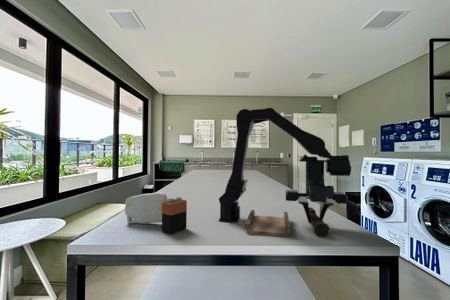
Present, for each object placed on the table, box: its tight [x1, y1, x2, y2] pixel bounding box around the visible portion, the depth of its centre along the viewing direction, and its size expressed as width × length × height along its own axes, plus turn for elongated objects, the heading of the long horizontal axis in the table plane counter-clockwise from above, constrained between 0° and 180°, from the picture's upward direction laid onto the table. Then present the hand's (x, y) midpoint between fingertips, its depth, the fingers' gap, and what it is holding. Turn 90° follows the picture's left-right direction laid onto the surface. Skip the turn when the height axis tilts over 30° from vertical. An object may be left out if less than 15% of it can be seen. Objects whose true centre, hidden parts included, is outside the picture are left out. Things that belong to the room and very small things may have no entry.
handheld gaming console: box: [124, 192, 168, 225], centre depth 77 cm, size 11×3×15 cm
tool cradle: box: [244, 209, 291, 238], centre depth 75 cm, size 13×17×3 cm
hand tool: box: [309, 207, 330, 237], centre depth 75 cm, size 19×4×5 cm, turn 168°
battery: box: [161, 196, 188, 235], centre depth 71 cm, size 4×7×10 cm, turn 145°
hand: (314, 222), depth 75 cm, fingers closed on hand tool, 3 cm apart
